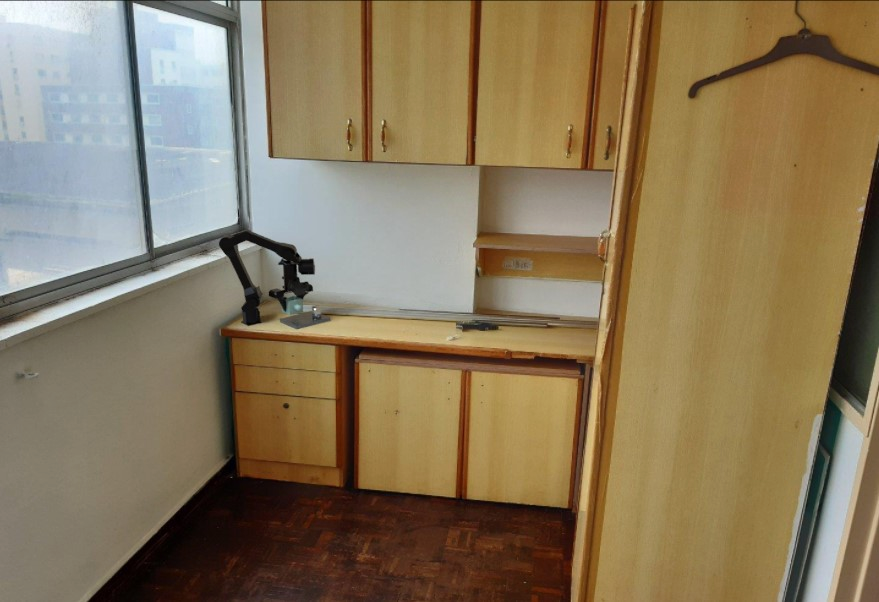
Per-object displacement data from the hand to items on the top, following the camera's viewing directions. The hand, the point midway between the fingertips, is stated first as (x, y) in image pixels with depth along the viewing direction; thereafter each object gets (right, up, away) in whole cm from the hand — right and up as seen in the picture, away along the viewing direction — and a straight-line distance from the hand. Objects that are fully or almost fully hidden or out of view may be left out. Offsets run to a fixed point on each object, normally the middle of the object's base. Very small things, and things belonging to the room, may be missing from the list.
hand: (292, 309), depth 277 cm
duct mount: (+5, -5, +3) cm, 8 cm away
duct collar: (+1, -1, -1) cm, 2 cm away
